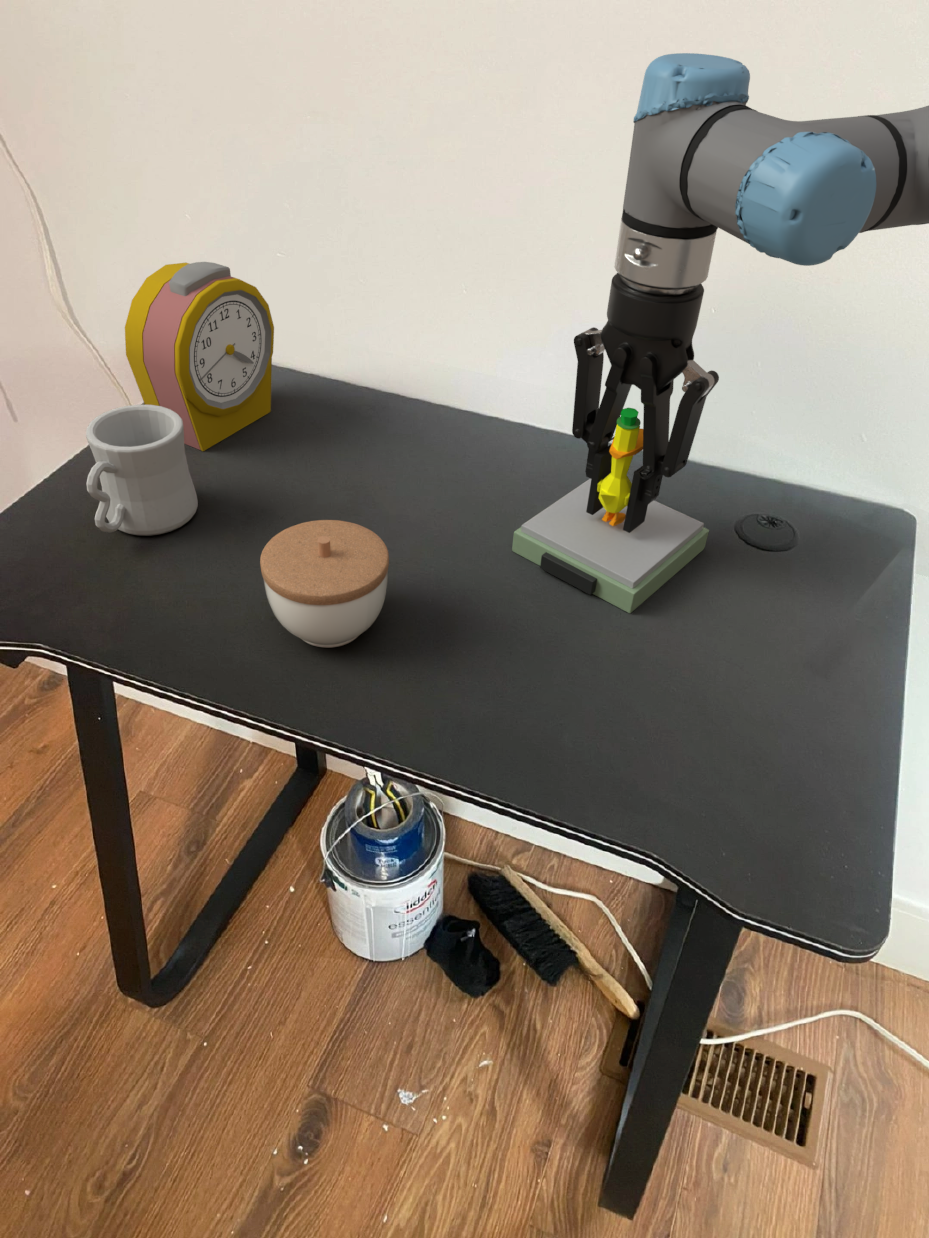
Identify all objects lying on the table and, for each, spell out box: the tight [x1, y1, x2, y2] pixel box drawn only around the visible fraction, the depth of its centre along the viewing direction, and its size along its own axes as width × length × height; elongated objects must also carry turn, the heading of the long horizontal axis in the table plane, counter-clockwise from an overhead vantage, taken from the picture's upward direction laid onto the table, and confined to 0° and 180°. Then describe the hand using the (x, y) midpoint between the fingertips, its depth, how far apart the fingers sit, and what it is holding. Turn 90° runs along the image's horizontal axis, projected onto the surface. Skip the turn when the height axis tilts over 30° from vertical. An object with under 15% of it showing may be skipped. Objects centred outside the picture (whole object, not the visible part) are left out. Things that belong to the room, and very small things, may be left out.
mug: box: [85, 404, 199, 537], centre depth 89 cm, size 12×9×10 cm
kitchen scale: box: [511, 478, 710, 614], centre depth 91 cm, size 14×15×3 cm
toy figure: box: [597, 407, 643, 526], centre depth 86 cm, size 7×4×12 cm, turn 137°
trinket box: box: [259, 519, 390, 648], centre depth 79 cm, size 11×11×9 cm
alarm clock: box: [124, 261, 275, 452], centre depth 102 cm, size 15×8×18 cm, turn 148°
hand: (615, 516), depth 90 cm, fingers closed on toy figure, 4 cm apart
